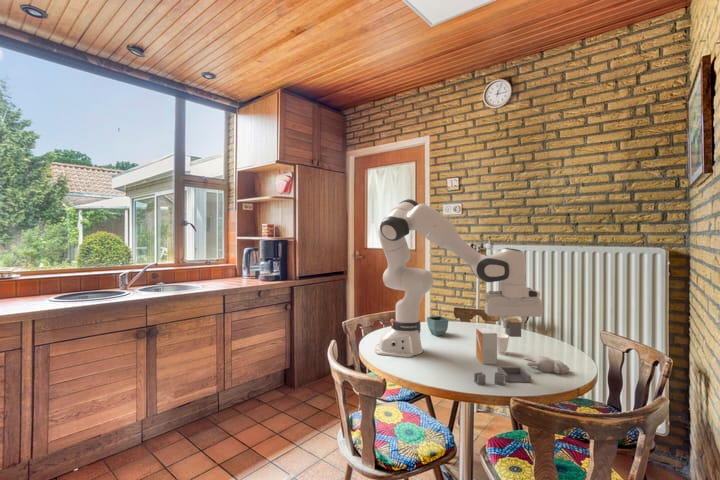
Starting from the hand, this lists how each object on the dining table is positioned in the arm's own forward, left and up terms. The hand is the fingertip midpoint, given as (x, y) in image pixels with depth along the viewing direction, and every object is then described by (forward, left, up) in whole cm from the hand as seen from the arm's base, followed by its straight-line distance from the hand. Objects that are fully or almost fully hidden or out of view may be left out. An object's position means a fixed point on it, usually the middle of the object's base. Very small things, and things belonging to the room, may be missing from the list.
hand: (513, 327), depth 129 cm
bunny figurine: (+16, +8, -19) cm, 26 cm away
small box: (-5, +18, -19) cm, 26 cm away
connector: (0, 0, -3) cm, 3 cm away
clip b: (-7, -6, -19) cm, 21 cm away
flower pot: (-20, +57, -19) cm, 63 cm away
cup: (+3, +29, -19) cm, 35 cm away
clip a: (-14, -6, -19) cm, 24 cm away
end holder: (0, 0, -19) cm, 19 cm away
